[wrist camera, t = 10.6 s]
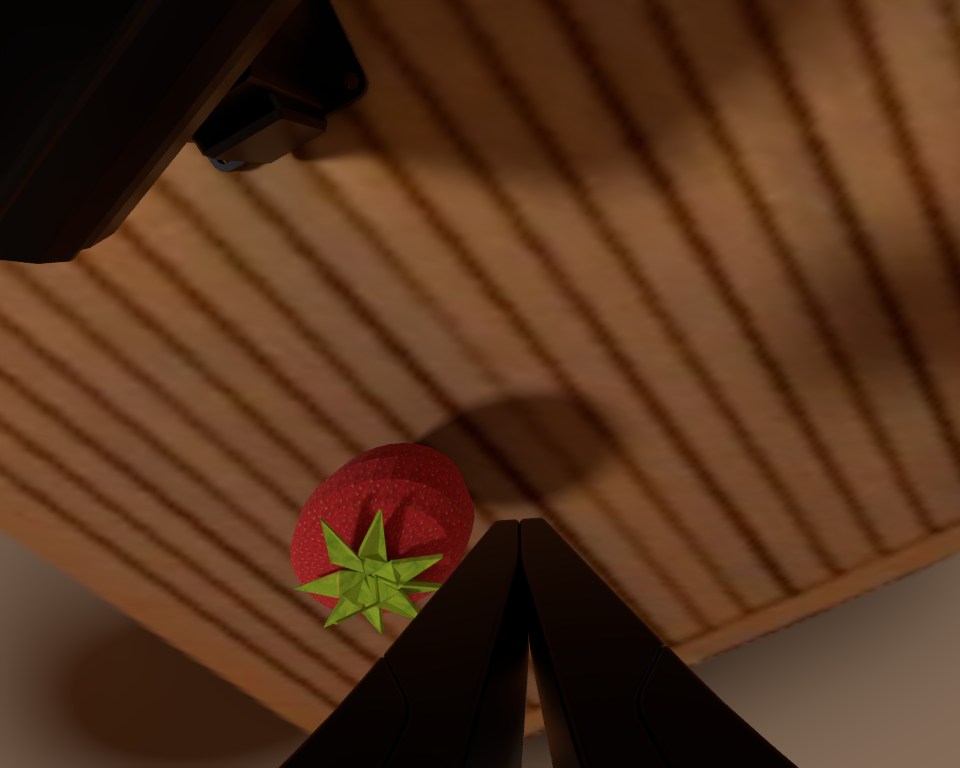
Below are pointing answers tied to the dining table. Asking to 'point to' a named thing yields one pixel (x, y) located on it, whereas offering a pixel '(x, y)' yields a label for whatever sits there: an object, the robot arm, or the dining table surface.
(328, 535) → the strawberry
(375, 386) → the dining table surface
